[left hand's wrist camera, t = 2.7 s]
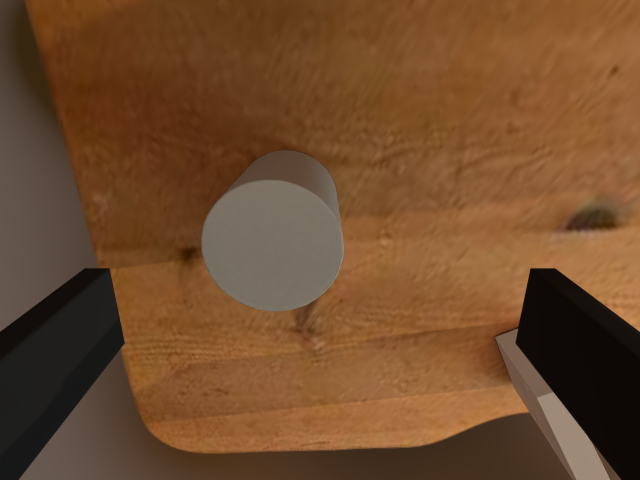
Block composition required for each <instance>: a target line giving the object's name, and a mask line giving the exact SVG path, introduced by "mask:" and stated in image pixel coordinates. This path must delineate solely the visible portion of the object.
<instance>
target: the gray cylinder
mask: <svg viewBox="0 0 640 480" xmlns="http://www.w3.org/2000/svg"><path fill="white" fill-rule="evenodd" d="M201 249H202V255H203V259H204V262H205V265H206V268H207V270H208V272H209V274H210V275H211V277H212V278H213V280H214V281H215V283H216V284H217V285H218V286H219V287H220V288H221V289H222V290H223V291H224V292H225V293H226V294H227V295H229V296H230V297H232V298H233V299H234V300H236V301H238V302H240V303H242V304H244V305H246V306H249V307H252V308H256V309H259V310H266V311H286V310H291V309H295V308H298V307H302V306H304V305H306V304H308V303H310V302H312V301H314V300H315V299H317V298H318V297H319V296H321V295H322V294H323V293H324V292H325V291H326V290H327V289H328V288H329V287H330V286H331V284H332V283H333V281H334V280H335V278H336V276H337V274H338V273H339V270H340V267H341V264H342V260H343V251H344V245H343V235H342V228H341V221H340V213H339V206H338V199H337V192H336V188H335V185H334V182H333V180H332V178H331V176H330V174H329V173H328V171H327V170H326V169H325V168H324V167H323V165H322V164H320V163H319V162H318V161H317V160H315V159H314V158H312V157H311V156H308V155H306V154H304V153H301V152H297V151H292V150H280V151H274V152H270V153H268V154H265V155H263V156H261V157H259V158H258V159H257V160H255V161H254V162H253V163H252V164H251V165H250V166H249V167H248V168H247V169H246V170H245V171H244V172H243V173H242V174H241V175H240V177H239V178H238V179H237V180H236V181H235V182H234V183H233V184H232V185H231V186H230V187H229V189H228V190H227V191H226V192H225V193H224V194H223V195H222V196H221V197H220V198H219V199H218V201H217V202H216V203H215V204H214V206H213V207H212V208H211V210H210V211H209V213H208V215H207V217H206V220H205V222H204V225H203V229H202V235H201Z"/></svg>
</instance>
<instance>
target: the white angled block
mask: <svg viewBox="0 0 640 480" xmlns="http://www.w3.org/2000/svg"><path fill="white" fill-rule="evenodd" d="M517 332H518V329H515V330H513V331H510V332H507V333H505V334H502V335H499V336H496V337H495V339H496V341H497V344H498V347H499V349H500V352H501V354H502V357H503V360H504V362H505V365H506V368H507V370H508V373H509V376H510V378H511V381H512V384H513V386H514V388H515V390H516V391H517V393H518V395H519V396H520V398H521V399H522V401H523V402H524V404H525V406H526V407H527V409H528V410H529V412H530V413H531V415H532V416H533V418H534V420H535V421H536V423H537V424H538V426H539V427H540V429H541V431H542V432H543V434H544V435H545V437H546V438H547V440H548V442H549V443H550V445H551V446H552V448H553V449H554V451H555V452H556V454H557V456H558V457H559V459H560V460H561V462H562V463H563V465H564V467H565V468H566V470H567V471H568V473H569V474H570V476H571V478H572V479H573V480H610V479H609V477H608V475H607V473H606V471H605V469H604V467H603V465H602V463H601V461H600V459H599V457H598V455H597V452H596V450H595V448H594V446H593V444H592V442H591V441H590V440H589V438H588V436H587V435H586V434H585V432H584V431H583V430H582V428H581V427H580V426H579V425H578V423H577V422H576V421H575V419H574V418H573V417H572V416H571V414H570V413H569V412H568V410H567V409H566V408H565V407H564V405H563V404H562V403H561V401H560V400H559V399H558V398H557V396H556V395H555V394H554V392H553V391H552V390H551V389H550V387H549V386H548V385H547V383H546V382H545V381H544V380H543V378H542V377H541V376H540V374H539V373H538V372H537V371H536V369H535V368H534V367H533V365H532V364H531V363H530V362H529V360H528V359H527V358H526V356H525V355H524V354H523V353H522V351H521V350H520V349H519V347H518V346H517V345H516V344H515V342H516V337H517Z"/></svg>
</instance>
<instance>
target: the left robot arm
mask: <svg viewBox="0 0 640 480" xmlns="http://www.w3.org/2000/svg"><path fill="white" fill-rule="evenodd" d="M124 344H125V342H124V337H123V332H122V327H121V322H120V317H119V313H118V308H117V303H116V298H115V293H114V288H113V283H112V279H111V274H110V269H109V268H85V269H83V270H82V271H81V272H79V273H78V274H77V275H75V276H74V277H73V278H71V279H70V280H69V281H67V282H66V283H65V284H63V285H62V286H61V287H59V288H58V289H57V290H55V291H54V292H53V293H51V294H50V295H49V296H47V297H46V298H45V299H43V300H42V301H41V302H39V303H38V304H37V305H35V306H34V307H33V308H31V309H30V310H29V311H27V312H26V313H25V314H23V315H22V316H21V317H19V318H18V319H17V320H15V321H14V322H13V323H11V324H10V325H9V326H7V327H6V328H5V329H3V330H2V331H1V332H0V480H19V479H20V477H21V476H22V475H23V473H24V472H25V471H26V469H27V468H28V467H29V466H30V464H31V463H32V462H33V461H34V459H35V458H36V457H37V455H38V454H39V453H40V452H41V450H42V449H43V448H44V446H45V445H46V444H47V442H48V441H49V440H50V439H51V437H52V436H53V435H54V433H55V432H56V431H57V430H58V428H59V427H60V426H61V425H62V423H63V422H64V421H65V419H66V418H67V417H68V416H69V414H70V413H71V412H72V410H73V409H74V408H75V406H76V405H77V404H78V403H79V401H80V400H81V399H82V398H83V396H84V395H85V394H86V392H87V391H88V390H89V388H90V387H91V386H92V385H93V383H94V382H95V381H96V380H97V378H98V377H99V376H100V374H101V373H102V372H103V371H104V369H105V368H106V367H107V365H108V364H109V363H110V362H111V360H112V359H113V358H114V356H115V355H116V354H117V353H118V351H119V350H120V349H121V347H122V346H123V345H124ZM515 344H516V345H517V346H518V347H519V349H520V350H521V351H522V353H523V354H524V355H525V356H526V358H527V359H528V360H529V362H530V363H531V364H532V365H533V367H534V368H535V369H536V371H537V372H538V373H539V374H540V376H541V377H542V378H543V380H544V381H545V382H546V383H547V385H548V386H549V387H550V389H551V390H552V391H553V392H554V394H555V395H556V396H557V398H558V399H559V400H560V401H561V403H562V404H563V405H564V407H565V408H566V409H567V410H568V412H569V413H570V414H571V416H572V417H573V418H574V419H575V421H576V422H577V423H578V425H579V426H580V427H581V428H582V430H583V431H584V432H585V434H586V435H587V436H588V437H589V439H590V440H591V441H592V443H593V444H594V445H595V446H596V448H597V449H598V450H599V452H600V453H601V454H602V455H603V457H604V458H605V459H606V461H607V462H608V463H609V464H610V466H611V467H612V468H613V470H614V471H615V472H616V473H617V475H618V476H619V477H620V478H621V480H640V332H639V331H638V330H637V329H635V328H634V327H633V326H631V325H630V324H629V323H627V322H626V321H625V320H623V319H622V318H621V317H619V316H618V315H617V314H615V313H614V312H613V311H611V310H610V309H609V308H607V307H606V306H605V305H603V304H602V303H601V302H599V301H598V300H597V299H595V298H594V297H593V296H591V295H590V294H589V293H587V292H586V291H585V290H583V289H582V288H581V287H579V286H578V285H577V284H575V283H574V282H573V281H571V280H570V279H569V278H567V277H566V276H565V275H563V274H562V273H561V272H559V271H558V270H557V269H555V268H531V269H530V274H529V279H528V283H527V288H526V293H525V298H524V303H523V308H522V313H521V317H520V322H519V327H518V332H517V337H516V342H515Z"/></svg>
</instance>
